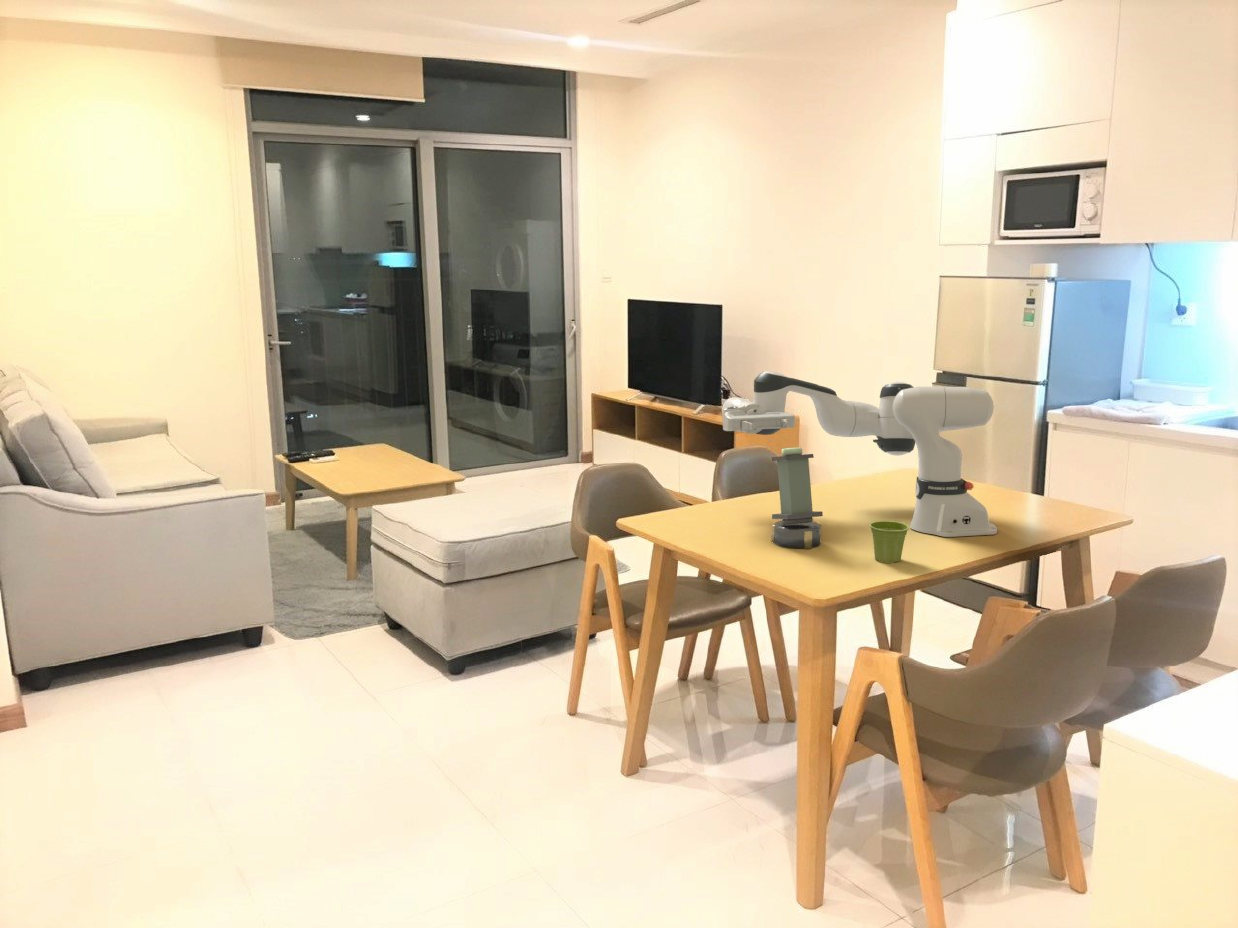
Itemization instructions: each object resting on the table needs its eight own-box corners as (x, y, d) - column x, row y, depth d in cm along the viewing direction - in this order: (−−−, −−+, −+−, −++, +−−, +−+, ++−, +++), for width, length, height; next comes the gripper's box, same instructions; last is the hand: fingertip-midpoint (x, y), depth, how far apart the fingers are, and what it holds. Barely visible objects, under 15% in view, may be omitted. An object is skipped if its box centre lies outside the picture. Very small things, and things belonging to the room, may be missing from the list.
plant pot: (907, 555, 246) (909, 521, 245) (908, 566, 237) (909, 531, 236) (868, 553, 249) (870, 519, 247) (867, 564, 240) (868, 529, 238)
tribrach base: (806, 535, 267) (806, 517, 266) (830, 547, 255) (830, 528, 254) (766, 539, 263) (766, 521, 262) (788, 551, 251) (788, 533, 251)
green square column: (806, 521, 264) (800, 447, 264) (823, 522, 256) (817, 445, 256) (772, 524, 261) (766, 450, 261) (788, 525, 253) (782, 448, 253)
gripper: (783, 426, 289) (804, 435, 276) (717, 430, 284) (735, 439, 271) (784, 405, 288) (804, 413, 275) (718, 408, 283) (735, 416, 270)
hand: (769, 426), depth 273 cm, fingers open, 8 cm apart
